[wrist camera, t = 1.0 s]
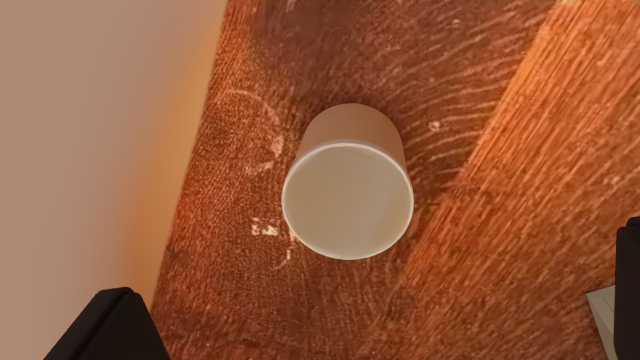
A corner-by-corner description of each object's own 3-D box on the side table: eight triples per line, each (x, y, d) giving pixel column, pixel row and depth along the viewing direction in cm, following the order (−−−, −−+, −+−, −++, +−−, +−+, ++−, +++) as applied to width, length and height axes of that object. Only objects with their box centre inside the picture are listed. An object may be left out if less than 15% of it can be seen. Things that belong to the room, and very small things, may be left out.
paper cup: (378, 83, 28) (381, 120, 22) (420, 176, 30) (434, 234, 24) (280, 128, 30) (257, 174, 23) (327, 212, 32) (317, 276, 26)
